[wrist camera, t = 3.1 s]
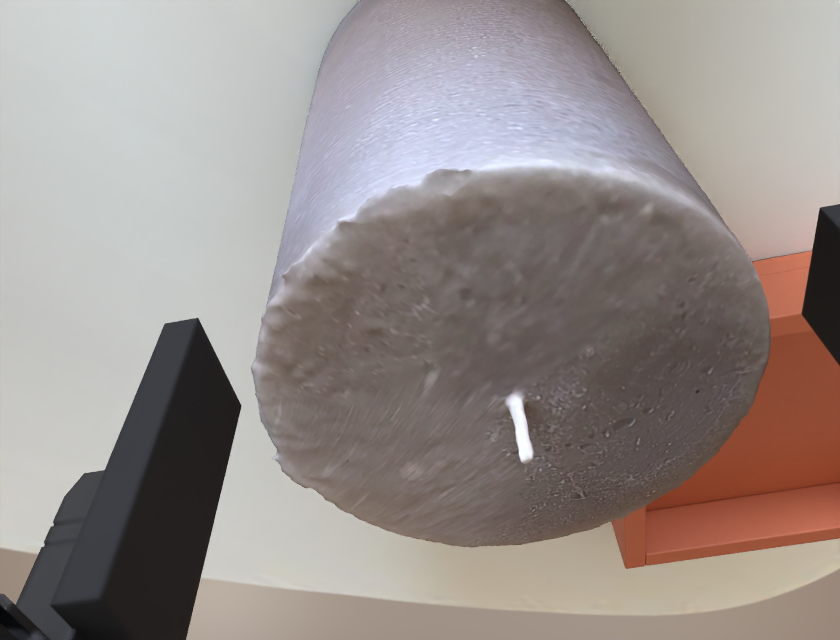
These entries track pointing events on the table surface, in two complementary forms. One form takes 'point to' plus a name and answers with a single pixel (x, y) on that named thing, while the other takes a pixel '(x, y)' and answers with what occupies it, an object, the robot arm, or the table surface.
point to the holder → (760, 452)
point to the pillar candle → (497, 284)
